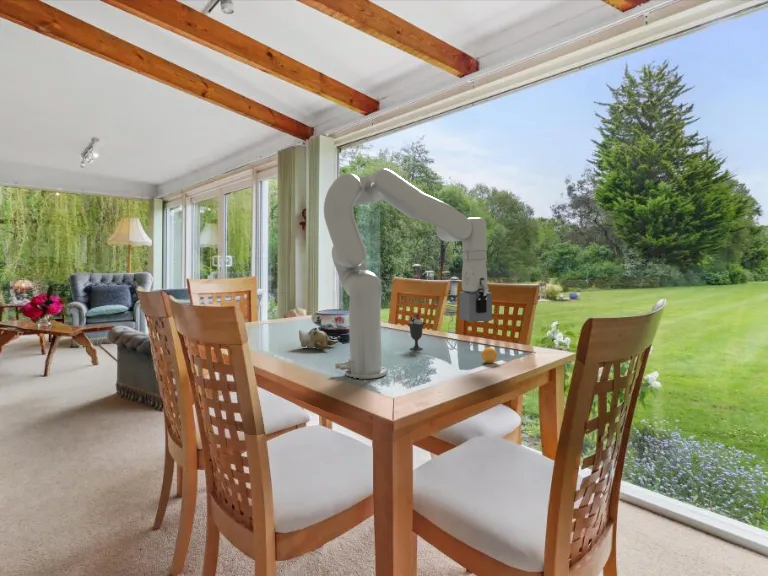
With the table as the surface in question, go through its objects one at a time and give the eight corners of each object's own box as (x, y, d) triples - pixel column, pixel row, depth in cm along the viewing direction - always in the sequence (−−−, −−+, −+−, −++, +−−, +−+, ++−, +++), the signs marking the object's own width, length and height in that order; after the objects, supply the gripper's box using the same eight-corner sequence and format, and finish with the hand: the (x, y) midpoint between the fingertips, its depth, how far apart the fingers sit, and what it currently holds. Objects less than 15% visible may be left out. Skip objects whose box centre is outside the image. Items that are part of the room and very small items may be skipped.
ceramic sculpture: (305, 324, 176) (339, 327, 173) (304, 344, 177) (339, 348, 173) (293, 328, 166) (329, 332, 162) (292, 350, 167) (329, 354, 163)
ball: (502, 358, 141) (491, 367, 140) (495, 354, 146) (484, 363, 145) (494, 346, 140) (482, 355, 139) (487, 343, 145) (476, 352, 144)
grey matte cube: (469, 321, 136) (469, 294, 135) (459, 318, 143) (459, 292, 143) (492, 320, 138) (491, 292, 137) (481, 317, 145) (481, 291, 144)
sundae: (424, 351, 161) (423, 311, 160) (406, 350, 163) (406, 311, 162) (426, 347, 168) (425, 309, 167) (409, 347, 169) (408, 309, 168)
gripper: (453, 257, 147) (454, 308, 148) (475, 257, 130) (476, 315, 131) (473, 256, 148) (474, 307, 150) (498, 256, 131) (499, 313, 133)
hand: (475, 310), depth 140 cm, fingers closed on grey matte cube, 7 cm apart
